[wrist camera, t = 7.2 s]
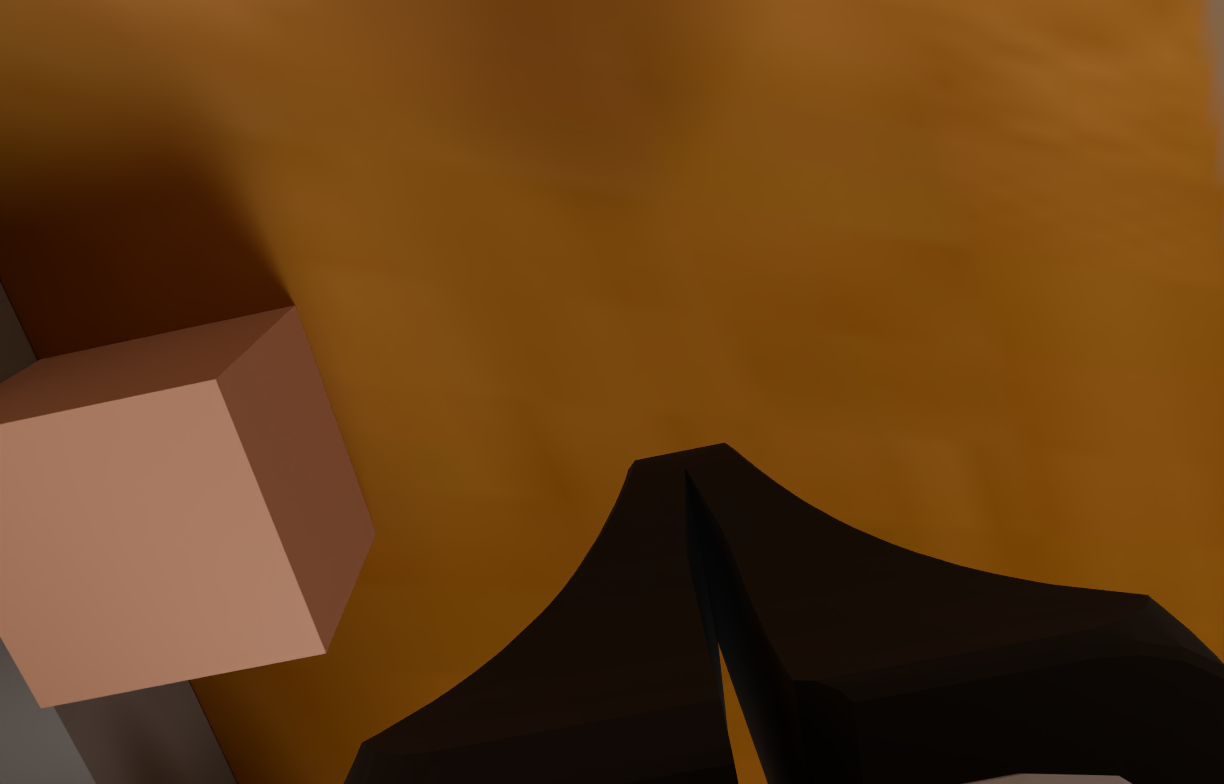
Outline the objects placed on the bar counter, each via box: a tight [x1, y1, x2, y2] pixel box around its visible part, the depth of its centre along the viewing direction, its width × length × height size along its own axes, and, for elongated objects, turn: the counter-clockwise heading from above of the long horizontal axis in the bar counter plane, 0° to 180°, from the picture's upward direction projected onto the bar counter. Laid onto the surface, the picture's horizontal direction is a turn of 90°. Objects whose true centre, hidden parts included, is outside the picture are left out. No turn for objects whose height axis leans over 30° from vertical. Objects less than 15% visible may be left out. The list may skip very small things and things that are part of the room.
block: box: [0, 305, 376, 708], centre depth 16 cm, size 5×5×4 cm
